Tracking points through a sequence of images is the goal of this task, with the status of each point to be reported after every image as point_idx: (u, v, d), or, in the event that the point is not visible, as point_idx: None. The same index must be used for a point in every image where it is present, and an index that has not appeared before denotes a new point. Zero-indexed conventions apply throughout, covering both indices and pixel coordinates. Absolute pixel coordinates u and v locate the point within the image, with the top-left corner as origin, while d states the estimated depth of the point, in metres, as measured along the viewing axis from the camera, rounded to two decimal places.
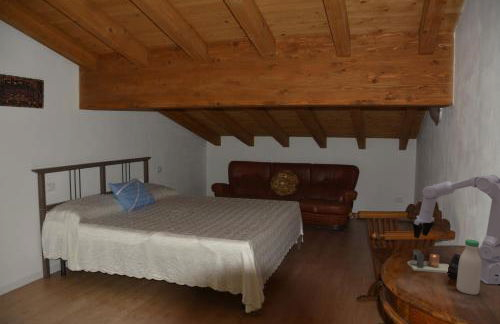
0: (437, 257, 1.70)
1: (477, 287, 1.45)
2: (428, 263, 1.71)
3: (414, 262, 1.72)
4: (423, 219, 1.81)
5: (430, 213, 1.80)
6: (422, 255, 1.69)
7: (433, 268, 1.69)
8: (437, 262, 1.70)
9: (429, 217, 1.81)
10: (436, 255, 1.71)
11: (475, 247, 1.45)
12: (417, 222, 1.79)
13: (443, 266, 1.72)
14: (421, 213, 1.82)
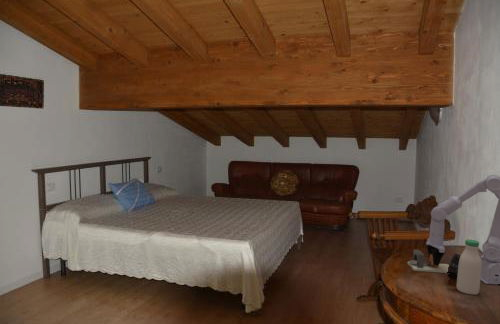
0: None
1: (477, 287, 1.45)
2: (428, 263, 1.71)
3: (414, 262, 1.72)
4: (440, 244, 1.68)
5: (443, 236, 1.69)
6: (422, 255, 1.69)
7: (433, 268, 1.69)
8: None
9: None
10: None
11: (475, 247, 1.45)
12: (443, 250, 1.64)
13: (443, 266, 1.72)
14: (436, 239, 1.68)
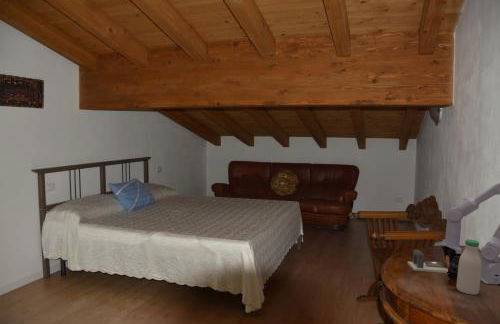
0: None
1: (477, 287, 1.45)
2: (444, 264, 1.71)
3: (430, 263, 1.71)
4: (456, 245, 1.68)
5: None
6: (422, 255, 1.69)
7: (433, 268, 1.69)
8: None
9: (459, 240, 1.69)
10: None
11: (475, 247, 1.45)
12: (460, 251, 1.63)
13: None
14: (453, 240, 1.68)
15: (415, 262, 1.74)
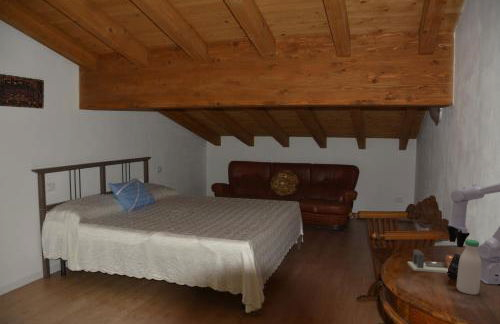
0: None
1: (477, 287, 1.45)
2: (444, 264, 1.71)
3: (430, 263, 1.71)
4: (462, 225, 1.71)
5: (465, 217, 1.73)
6: (422, 255, 1.69)
7: (433, 268, 1.69)
8: None
9: None
10: (452, 256, 1.70)
11: (475, 247, 1.45)
12: (466, 230, 1.67)
13: None
14: (459, 220, 1.72)
15: (415, 262, 1.74)
